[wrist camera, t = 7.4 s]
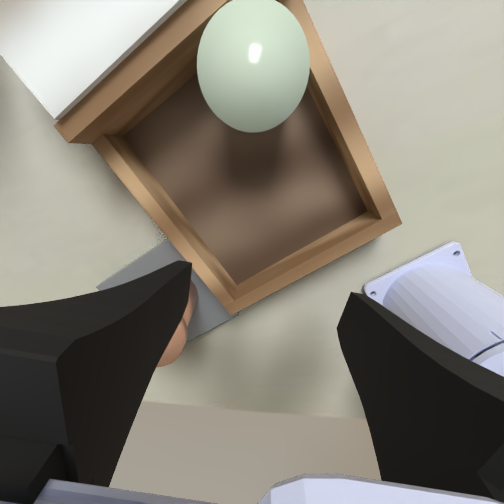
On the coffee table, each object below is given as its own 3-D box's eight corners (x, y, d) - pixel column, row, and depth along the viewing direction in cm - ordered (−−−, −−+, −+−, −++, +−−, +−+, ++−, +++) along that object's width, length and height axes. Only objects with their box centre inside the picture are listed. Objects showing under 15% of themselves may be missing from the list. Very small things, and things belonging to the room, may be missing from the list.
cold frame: (382, 213, 19) (424, 235, 14) (234, 295, 23) (227, 336, 18) (190, -195, 12) (142, -437, 7) (13, 11, 15) (-105, -55, 10)
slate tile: (239, 309, 23) (238, 314, 22) (166, 348, 25) (163, 354, 25) (177, 231, 20) (174, 234, 20) (101, 282, 23) (96, 287, 22)
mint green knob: (307, 107, 16) (329, 88, 11) (244, 152, 17) (238, 153, 12) (267, 26, 15) (272, -38, 10) (201, 81, 16) (173, 49, 11)
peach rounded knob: (213, 304, 22) (199, 350, 17) (164, 327, 23) (138, 377, 18) (178, 255, 20) (150, 290, 15) (127, 282, 22) (86, 323, 16)
